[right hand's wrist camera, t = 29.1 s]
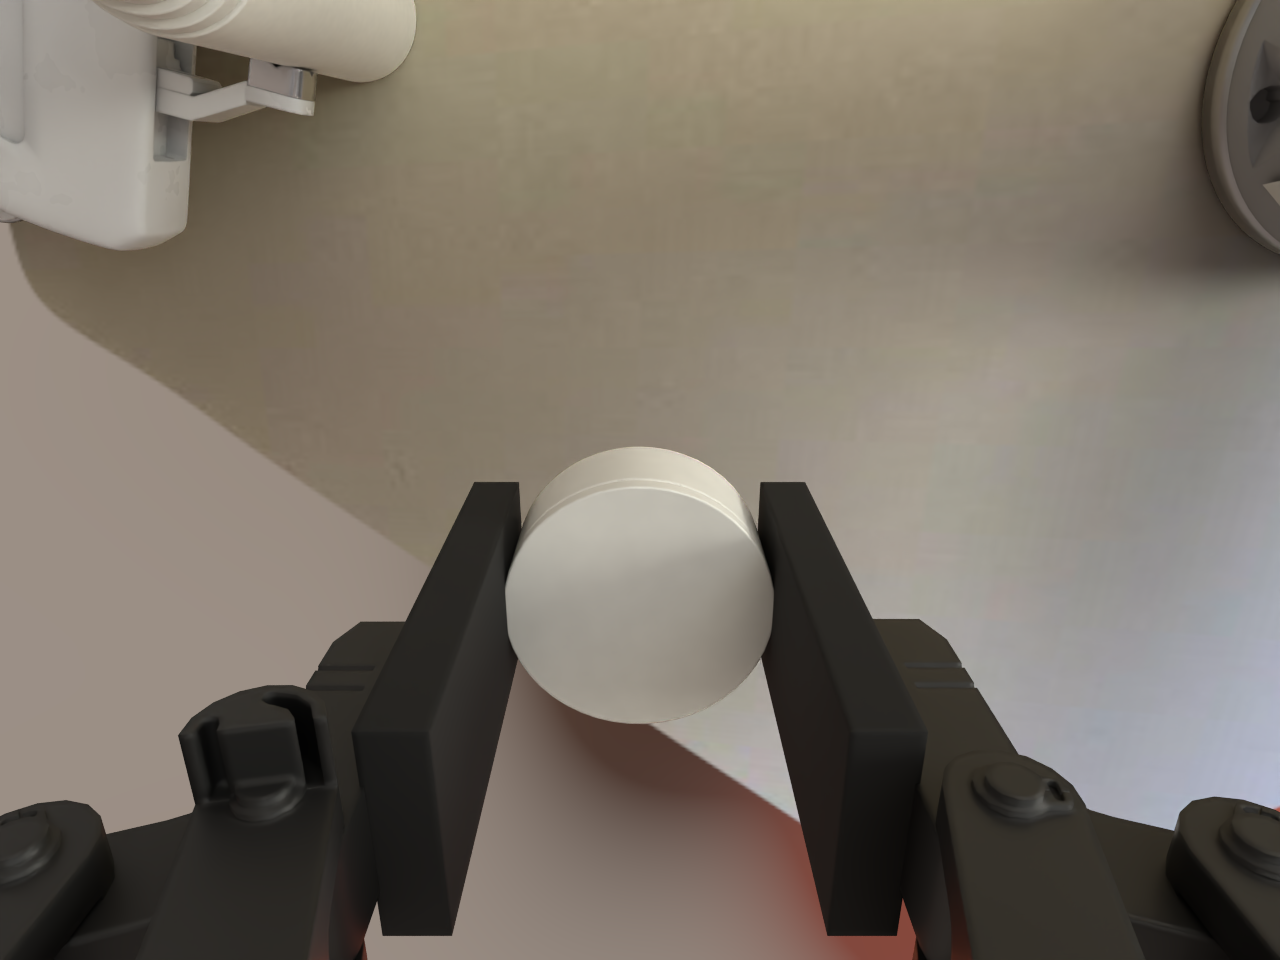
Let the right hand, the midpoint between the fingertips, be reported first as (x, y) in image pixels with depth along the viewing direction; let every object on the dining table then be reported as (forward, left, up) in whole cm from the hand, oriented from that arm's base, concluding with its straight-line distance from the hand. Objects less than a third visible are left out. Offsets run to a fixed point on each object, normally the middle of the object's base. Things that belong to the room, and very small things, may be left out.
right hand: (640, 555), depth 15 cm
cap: (0, 0, +2) cm, 2 cm away
